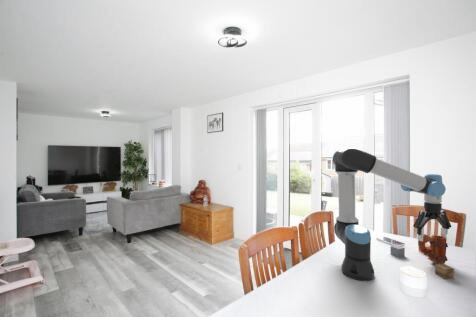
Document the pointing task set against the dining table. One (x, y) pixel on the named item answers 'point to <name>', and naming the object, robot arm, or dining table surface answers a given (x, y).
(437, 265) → the walnut block
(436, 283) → the dining table surface
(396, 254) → the slate block
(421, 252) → the terracotta block
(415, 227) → the robot arm
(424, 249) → the mug
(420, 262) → the dining table surface
